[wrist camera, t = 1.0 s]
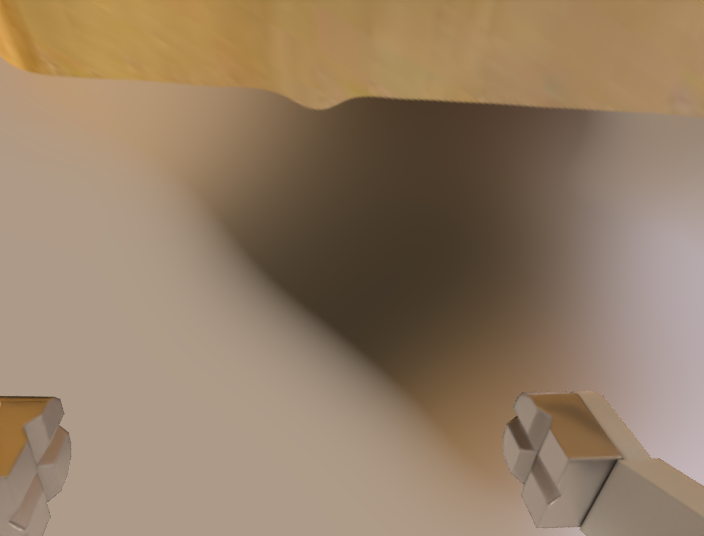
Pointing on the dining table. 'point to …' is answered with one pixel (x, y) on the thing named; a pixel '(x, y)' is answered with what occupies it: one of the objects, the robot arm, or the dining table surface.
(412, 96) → the dining table surface
